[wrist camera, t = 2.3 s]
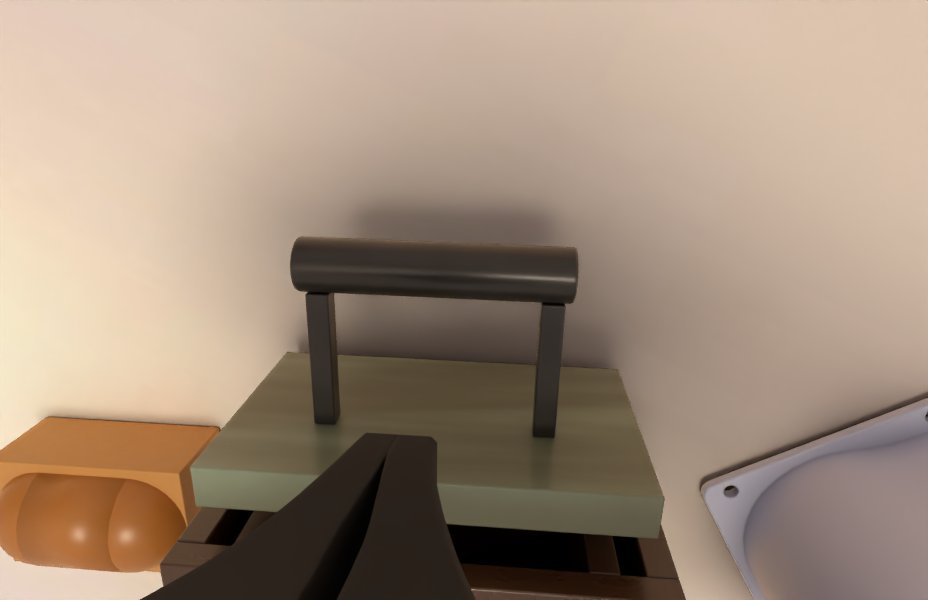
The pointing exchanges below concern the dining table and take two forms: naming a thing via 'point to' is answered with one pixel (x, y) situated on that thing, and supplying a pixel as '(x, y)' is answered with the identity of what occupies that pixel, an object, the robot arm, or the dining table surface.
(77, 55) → the dining table surface
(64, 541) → the capsule-topped tan block
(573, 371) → the drawer
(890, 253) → the dining table surface
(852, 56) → the dining table surface
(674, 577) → the cabinet
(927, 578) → the robot arm
